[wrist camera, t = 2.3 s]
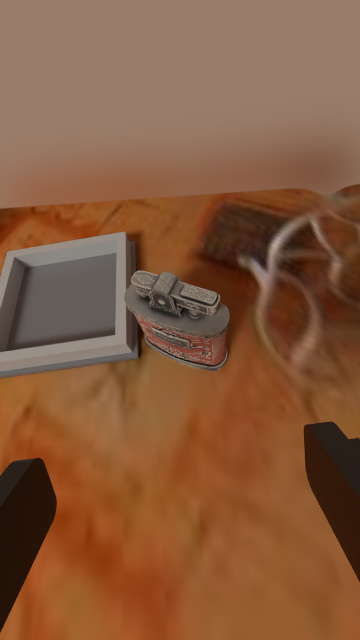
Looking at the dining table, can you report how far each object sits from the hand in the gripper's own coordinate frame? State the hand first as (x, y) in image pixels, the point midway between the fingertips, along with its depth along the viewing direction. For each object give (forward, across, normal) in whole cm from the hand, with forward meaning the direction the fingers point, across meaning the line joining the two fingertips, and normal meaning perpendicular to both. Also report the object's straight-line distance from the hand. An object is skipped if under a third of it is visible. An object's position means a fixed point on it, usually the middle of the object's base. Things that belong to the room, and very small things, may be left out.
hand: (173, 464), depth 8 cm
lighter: (+18, 0, +3) cm, 18 cm away
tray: (+22, +12, -2) cm, 26 cm away
